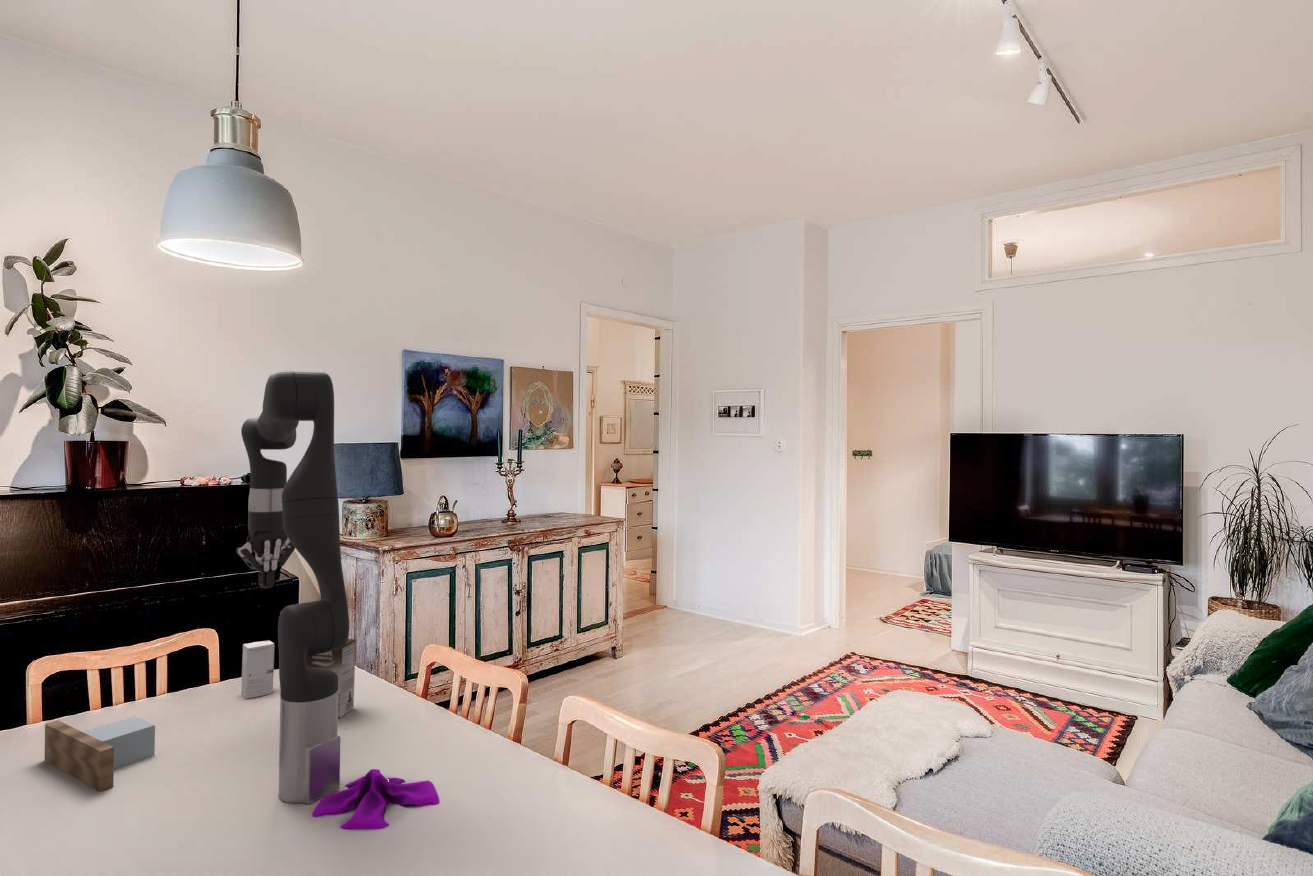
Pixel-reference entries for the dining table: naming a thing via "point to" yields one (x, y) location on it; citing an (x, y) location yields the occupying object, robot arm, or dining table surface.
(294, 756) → the robot arm
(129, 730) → the block
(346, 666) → the coffee box
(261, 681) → the skincare box
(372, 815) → the cloth
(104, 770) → the plank
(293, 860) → the dining table surface
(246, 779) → the dining table surface
